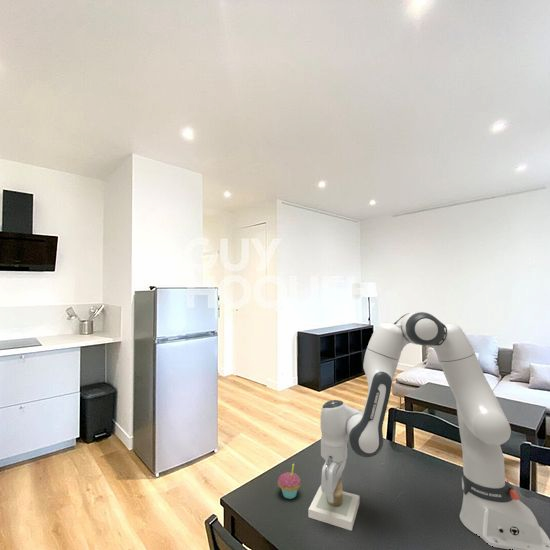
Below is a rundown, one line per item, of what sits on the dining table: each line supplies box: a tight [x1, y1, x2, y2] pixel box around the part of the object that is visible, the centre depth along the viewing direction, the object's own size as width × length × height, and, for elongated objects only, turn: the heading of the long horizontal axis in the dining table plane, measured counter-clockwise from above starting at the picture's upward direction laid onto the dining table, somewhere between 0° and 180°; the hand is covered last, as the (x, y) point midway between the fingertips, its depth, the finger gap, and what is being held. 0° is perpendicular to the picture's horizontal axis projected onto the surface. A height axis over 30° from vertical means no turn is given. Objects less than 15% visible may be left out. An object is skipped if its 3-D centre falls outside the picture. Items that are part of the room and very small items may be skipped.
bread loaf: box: [327, 477, 343, 507], centre depth 103 cm, size 5×5×7 cm
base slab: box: [307, 484, 360, 531], centre depth 103 cm, size 14×14×3 cm
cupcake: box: [277, 462, 302, 500], centre depth 111 cm, size 9×8×12 cm
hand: (334, 492), depth 103 cm, fingers open, 8 cm apart
